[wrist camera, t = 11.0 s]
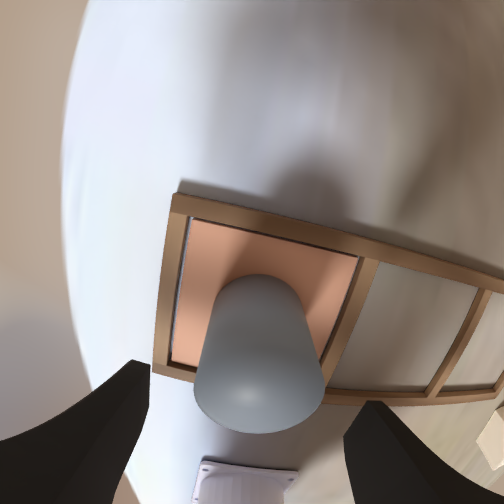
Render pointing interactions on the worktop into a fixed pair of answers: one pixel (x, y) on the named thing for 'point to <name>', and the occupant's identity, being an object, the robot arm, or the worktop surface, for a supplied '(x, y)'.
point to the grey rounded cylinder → (258, 358)
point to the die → (493, 439)
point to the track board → (301, 280)
